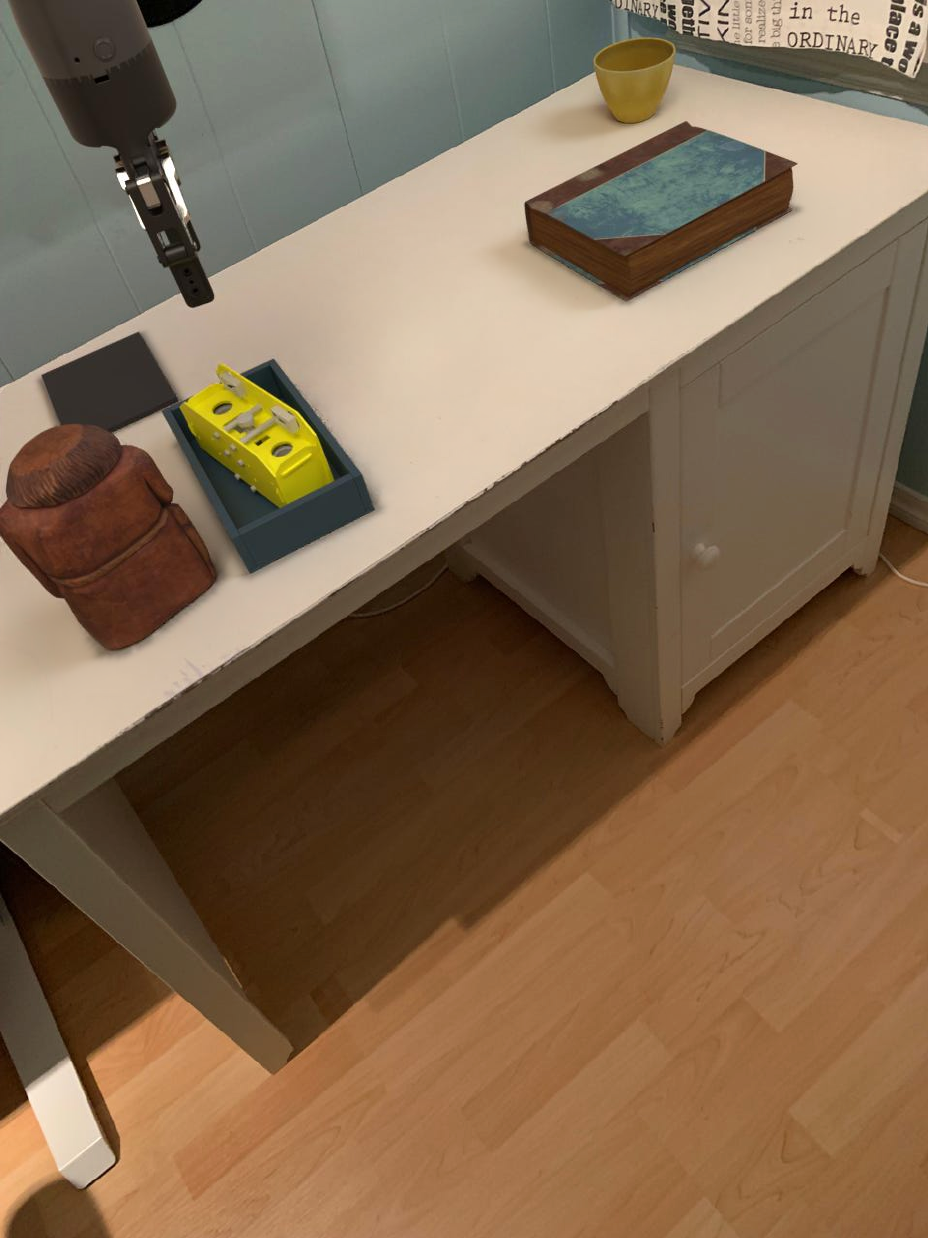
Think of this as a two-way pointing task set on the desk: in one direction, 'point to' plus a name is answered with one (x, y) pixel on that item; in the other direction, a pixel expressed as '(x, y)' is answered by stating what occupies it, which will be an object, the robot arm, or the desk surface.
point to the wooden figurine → (103, 532)
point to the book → (659, 207)
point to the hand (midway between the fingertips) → (195, 276)
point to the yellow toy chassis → (257, 438)
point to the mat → (109, 386)
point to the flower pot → (634, 76)
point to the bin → (253, 516)
